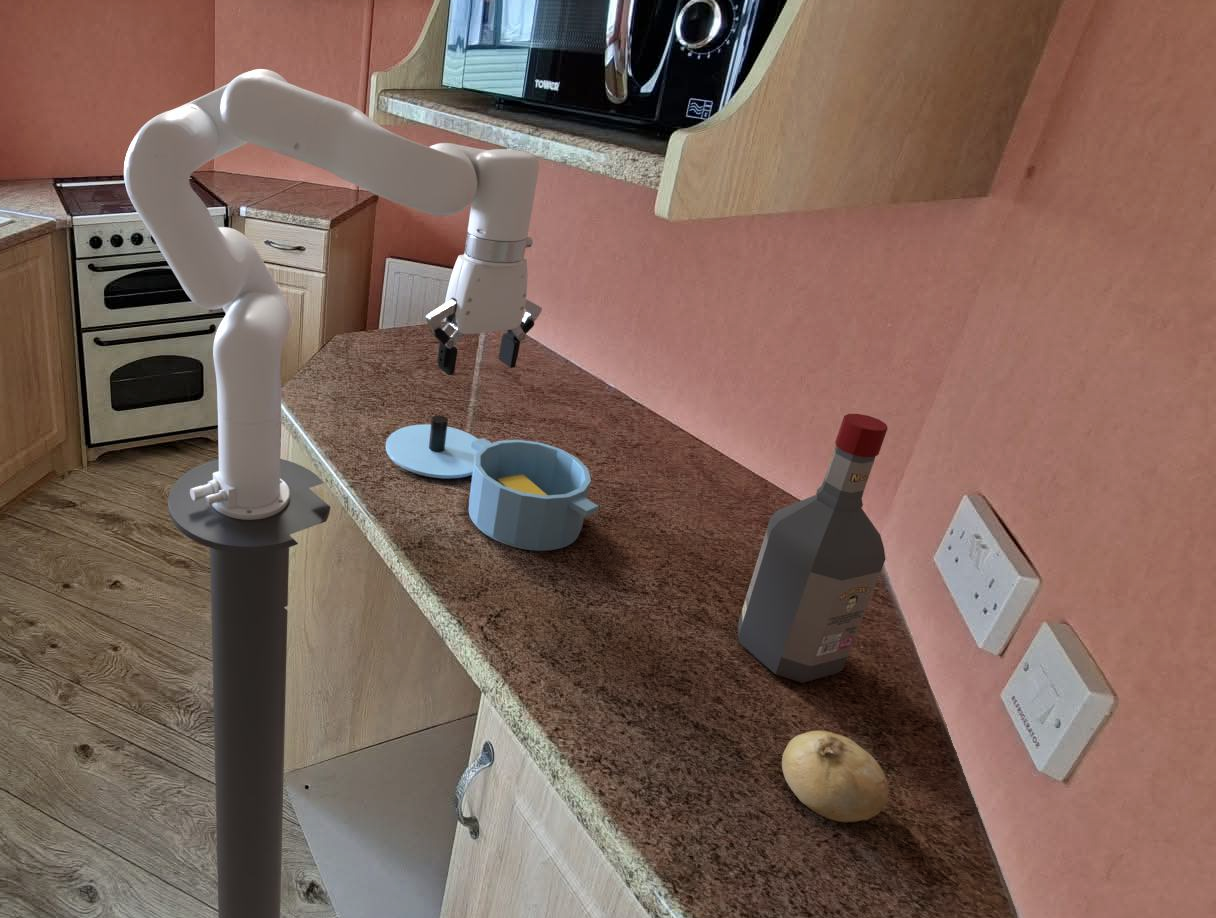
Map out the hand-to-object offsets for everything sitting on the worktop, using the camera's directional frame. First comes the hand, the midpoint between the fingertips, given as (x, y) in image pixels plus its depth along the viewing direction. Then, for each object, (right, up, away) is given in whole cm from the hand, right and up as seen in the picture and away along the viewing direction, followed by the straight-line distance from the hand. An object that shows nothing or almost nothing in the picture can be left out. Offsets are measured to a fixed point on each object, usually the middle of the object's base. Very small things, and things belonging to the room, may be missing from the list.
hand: (476, 367), depth 110 cm
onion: (+23, -40, -35) cm, 58 cm away
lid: (-1, -14, +22) cm, 26 cm away
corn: (+8, -22, +6) cm, 24 cm away
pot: (+8, -22, +6) cm, 24 cm away
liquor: (+31, -33, -18) cm, 48 cm away
